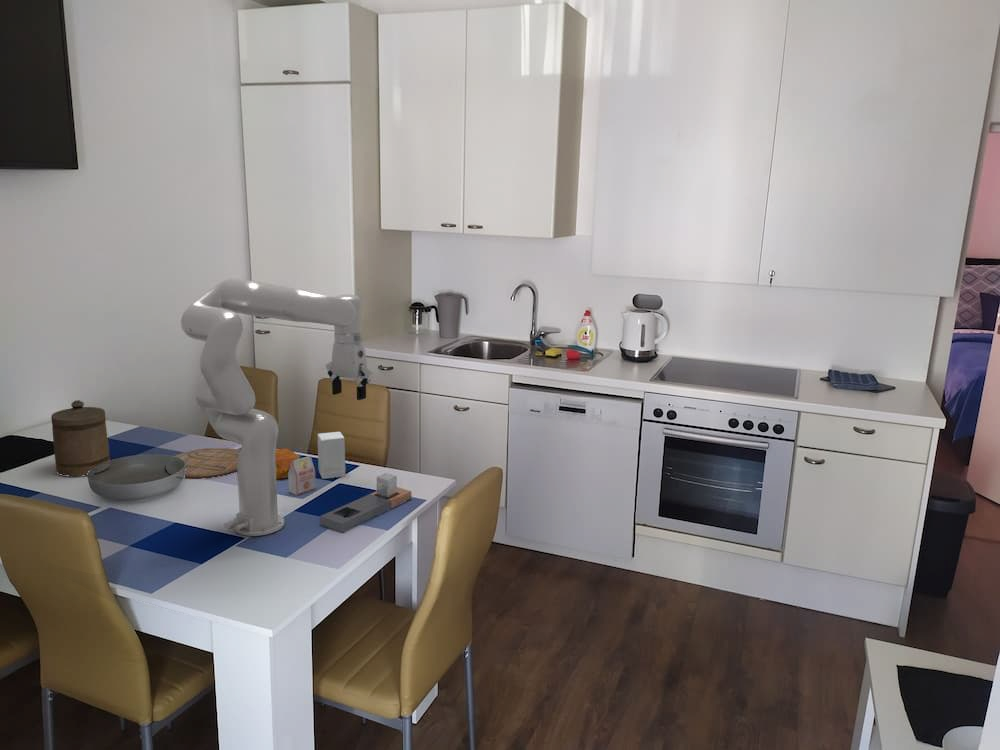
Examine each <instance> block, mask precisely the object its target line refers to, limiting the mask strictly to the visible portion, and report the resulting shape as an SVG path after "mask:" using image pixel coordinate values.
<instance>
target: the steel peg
mask: <svg viewBox="0 0 1000 750" xmlns="http://www.w3.org/2000/svg"><path fill="white" fill-rule="evenodd" d="M397 480H398V479H397V475H395V474H391V473H388V472H385V473H382V474H380V475H378V476H376V491H377V496H378V497H381V498H384V499H390V498H392V497H395V496H397V487H398V484H397V482H398V481H397Z"/></svg>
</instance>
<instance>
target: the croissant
mask: <svg viewBox="0 0 1000 750" xmlns="http://www.w3.org/2000/svg"><path fill="white" fill-rule="evenodd" d="M297 459H301V458H300V456H299V455H298V454H297V453H295V451H293V450H291V449H288V448H278V449H277V448H276V450H275V463H276V479H278V480H282V479H283V478H284V479H288V478H287V477H288V472H289V469H290V466H291V461H294V460H297Z"/></svg>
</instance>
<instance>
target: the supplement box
mask: <svg viewBox="0 0 1000 750" xmlns="http://www.w3.org/2000/svg"><path fill="white" fill-rule="evenodd" d="M345 441H346V440H345V437H344V435H343V433H342V432H341V431H332V432H324V433H323V432H322V433H317V461H318V469H317V470H318V473H319V475H320V476H321V477H320V478H321V479H322V480H323V479H324V480H326V479H333V478H334V479H335V477H336V478H344V477H346V448H345V445H346V444H345Z"/></svg>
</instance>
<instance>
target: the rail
mask: <svg viewBox="0 0 1000 750" xmlns="http://www.w3.org/2000/svg"><path fill="white" fill-rule="evenodd" d="M410 498H411V499H412V490H409V489H405V488H402V487H398V486H397V496H395V497H392V498H390V499H384V498H381V497H378V496H377V490H376V491H374V492H372V493H368V494H367V495H364V496H362V497H360V498H358V499H355V500H353V501H351V502H348V503H347V504H345V505H342V506H340V507H337V508H335V509H333V510H331V511H329V512H326V513H324V514H322V515H320V516H319V526H321V527H324V528H328V529H330V530H333V531H335V532H338V533H341V532H342V533H345V532H346V530H347V531H348V529H349V530H350V528H351V529H353V528H355V527H357V526H359V525H361V524H363V523H365V522H367V521H369V520H368V519H370V518H372V517H374V516H376V515H378V514H380V513H382V514H384V513H386V512H388V511H389V510H388V509H390V510H392V509H394V508H395V507H394V506H396V505H398V504H400V503H402V502H404V501H406V500H408V499H410ZM393 507H394V508H393ZM391 508H392V509H391ZM387 510H388V511H387ZM385 511H386V512H385ZM383 512H384V513H383ZM346 515H349V516H348V518H346ZM380 515H381V514H380ZM344 516H345V517H344ZM350 516H351V517H350ZM378 516H379V515H378ZM376 517H377V516H376ZM374 518H375V517H374ZM372 519H373V518H372ZM366 520H367V521H366ZM370 520H371V519H370ZM364 521H365V522H364ZM362 522H363V523H362ZM360 523H361V524H360ZM358 524H359V525H358ZM356 525H357V526H356ZM354 526H355V527H354ZM352 527H353V528H352ZM344 531H345V532H344Z"/></svg>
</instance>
